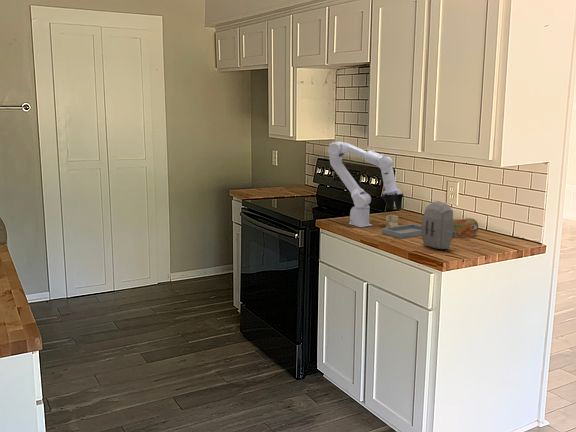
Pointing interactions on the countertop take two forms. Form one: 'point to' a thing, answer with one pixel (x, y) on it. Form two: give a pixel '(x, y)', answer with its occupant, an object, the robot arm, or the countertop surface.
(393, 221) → the block
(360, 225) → the robot arm
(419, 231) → the tray
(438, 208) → the grey rounded bag
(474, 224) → the tin
